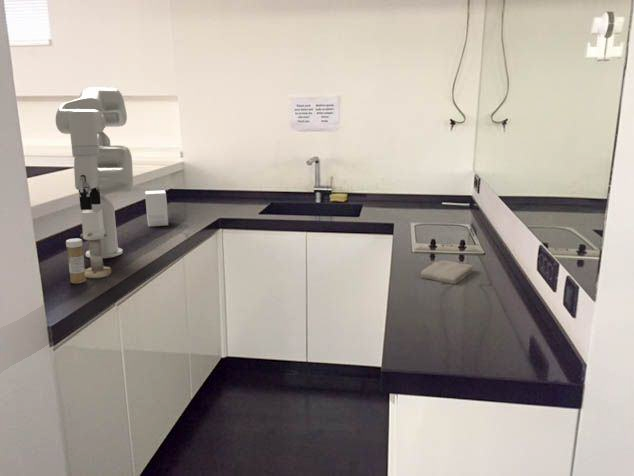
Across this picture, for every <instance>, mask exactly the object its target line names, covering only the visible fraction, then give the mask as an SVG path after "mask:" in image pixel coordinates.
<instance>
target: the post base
mask: <svg viewBox="0 0 634 476" xmlns="http://www.w3.org/2000/svg"><path fill="white" fill-rule="evenodd" d="M87 241H88V247H89V248H88V251H90V258H89V259H90V267H88V268H85V278H86V279H87V278H88V279H99V278H100V279H101V278H104V277H108V276H111V275H112V268H111V267H110V266H105V265H104V260H103V259H104V258H103V259H102V248H101V239H97V240H87Z"/></svg>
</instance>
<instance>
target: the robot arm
mask: <svg viewBox="0 0 634 476" xmlns="http://www.w3.org/2000/svg"><path fill="white" fill-rule="evenodd" d="M79 94H80V95H79V97H78V98H77V99H73V100H71V101H67V102H64V103H62V104H61V105H59V107H58V109H57V111H56V114H55V125H56V128H57V130H58V131H59V132H60V133H62V134H64V135H69V136H70V145H71V153H72V157H73V158H74V160H73V163H74V164H73V168H74V169H73V170H74V171H73V173H74V187H75V189H76V190H77V191H78V197H79V205H80V206H79V207H80V210H81V211H85V210H102V214H103V225H104V230H105V233H107V234H108V236H107V237H104V238H102V239H101V248H102V259H110V258H115V257H118V256H120V255H122V254H123V248H120V247H119V245H118V235H117V226H116V215H115V213H116V212H115V206H114V204H113V202H112V201H111V200H110V198H108V197H107V195H118V194H119V195H122V194H123V195H124V194H125V195H126V194H129V193H131V191H133V187H134V175H133V173H134V172H133V170H134V169H133V159H132V153H131V150H130V149H129V148H128V147H127V146H125V145H111V139H110V137H109V136H108V135H107V134H106V132H104V130H105V129H106V127H114V128H115V127H123V126H124V125H126V123H127V120H128V118H127V117H128V116H127V109H126V105H125V100H124V97H123V94H122V93H121V91H120V90H119V89H117V88H113V87H110V88H109V87H108V88H107V87H88V88H85V89H84V90H82V92H80V93H79ZM85 257H87V258H89V259H90V251H89V250H86V252H85Z"/></svg>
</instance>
